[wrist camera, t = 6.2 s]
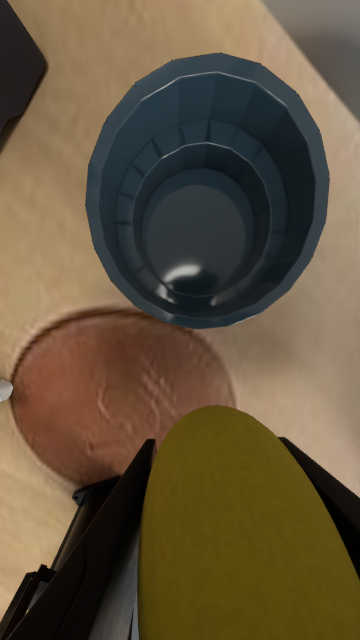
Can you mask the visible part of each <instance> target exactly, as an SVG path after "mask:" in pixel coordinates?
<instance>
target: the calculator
mask: <svg viewBox="0 0 360 640" xmlns="http://www.w3.org/2000/svg"><path fill="white" fill-rule="evenodd" d="M44 66H45V59H44V56H43V54H42V52H41V51H40V49H39V48H38V46H37V45H36V43H35V42H34V40H33V39H32V37H31V36H30V34H29V33H28V31H27V30H26V28H25V27H24V25H23V24H22V22H21V21H20V19H19V18H18V16H17V15H16V13H15V12H14V10H13V9H12V7H11V6H10V4H9V3H8V1H7V0H0V134H1V132H2V130H3V128H4V126H5V123H6V121H7V120H9V119H11V118H14V117H17V116H19V115H21V114H22V113H23V111H24V109H25V107H26V105H27V102H28V100H29V98H30V96H31V94H32V92H33V90H34V88H35V86H36V84H37V81H38V79H39V77H40V75H41V73H42V71H43V69H44Z"/></svg>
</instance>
